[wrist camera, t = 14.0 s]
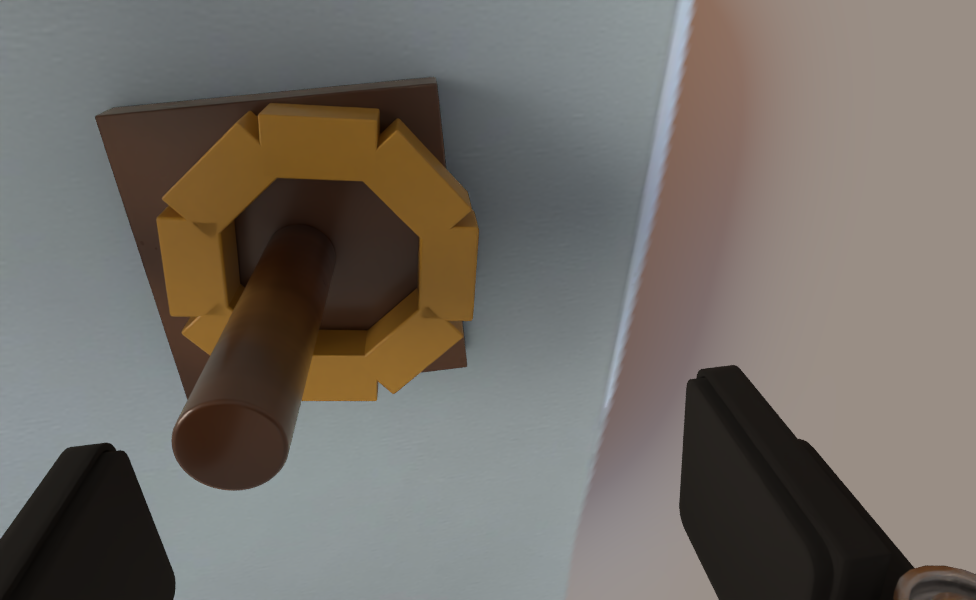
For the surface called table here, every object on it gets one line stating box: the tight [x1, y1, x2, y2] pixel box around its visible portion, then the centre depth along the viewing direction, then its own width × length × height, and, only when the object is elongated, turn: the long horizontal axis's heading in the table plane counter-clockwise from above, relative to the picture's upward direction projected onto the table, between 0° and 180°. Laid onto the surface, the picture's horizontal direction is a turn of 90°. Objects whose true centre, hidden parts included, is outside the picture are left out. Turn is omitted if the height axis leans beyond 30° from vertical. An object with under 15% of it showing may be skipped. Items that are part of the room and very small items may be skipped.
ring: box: [156, 103, 479, 401], centre depth 19 cm, size 8×8×2 cm
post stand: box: [95, 77, 467, 490], centre depth 17 cm, size 9×9×10 cm
